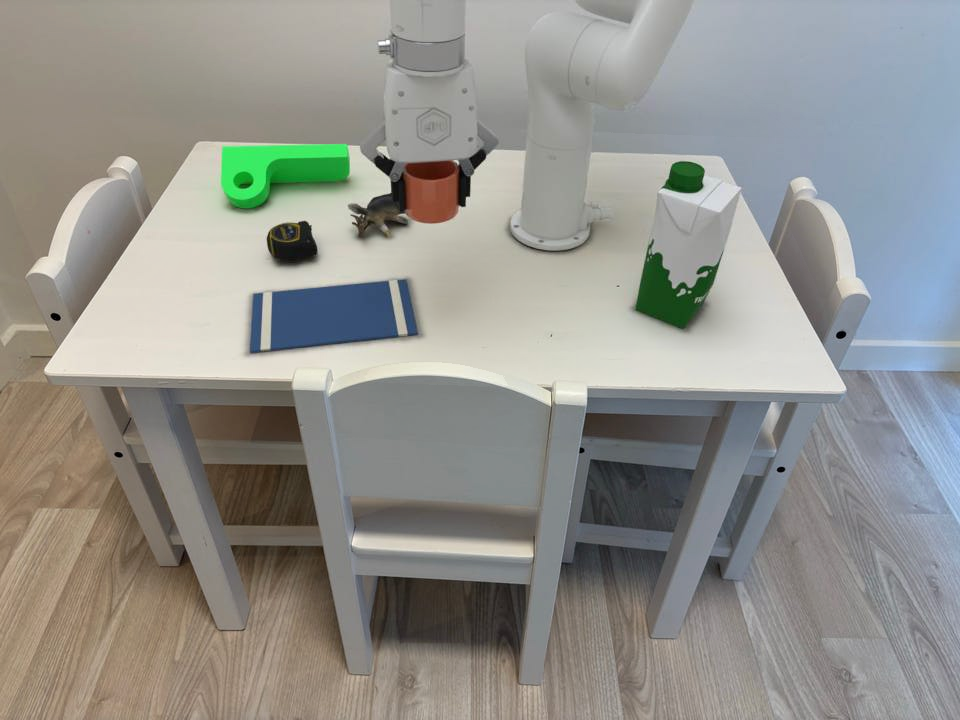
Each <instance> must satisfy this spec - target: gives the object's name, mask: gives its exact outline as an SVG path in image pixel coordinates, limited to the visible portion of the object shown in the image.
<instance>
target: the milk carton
mask: <svg viewBox="0 0 960 720" xmlns="http://www.w3.org/2000/svg"><path fill="white" fill-rule="evenodd" d="M705 173H706V170H705V168H704V167H703V166H702V165H701V164H698V163H697V162H693V161H687V160H682V161H681V160H680V161H675V162H673V163H672V164H671V166H670V170H669V173H668V178H667V179H666V180H665V182H664V184H663V185H662V187H661V188H660V189H659V190H658V192H657V195H656V205H655V213H654V217H653V222H652V227H651V230H650V235H649V241H648V244H647V249H646V253H645V257H644V262H643V267H642V271H641V277H640V283H639V287H638V293H637V298H636V304H635V310H636V311H638V312H641V313H643V314H645V315H648V316H650V317H653V318H655V319H657V320H659V321H662V322H665V323H667V324H670V325H673V326H675V327H677V328H680V329H682V330H684V329H685V328H686V327H687V325H688V324H689V323H690V322H691V320H692V319H693V318H694V317H695V315H696V313H697V312H698V311H699V309H701V307H702V306H703V304H704V303H705V301H706V299H707V297H708V295H709V293H710V292H711V290H712V287H713V285H714V283H715V281H716V277H717V274H718V271H719V268H720V264H721V261H722V258H723V254H724V252H725V248H726V245H727V242H728V238H729V235H730V232H731V229H732V225H733V221H734V217H735V213H736V211H737V207H738V203H739V199H740V195H741V192H742V189H743V188H742V187H741V186H739V185H738V186H737V185H734V184H731V183H728V182H724V181H723V180H722V179H720V178H717V177H711V176H708V175H705Z"/></svg>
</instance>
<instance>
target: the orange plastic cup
mask: <svg viewBox="0 0 960 720" xmlns="http://www.w3.org/2000/svg"><path fill="white" fill-rule="evenodd" d="M458 164H459V163H458V162H456V161H455V160H452V161H438V162H422V163H406V165H405V168H404V170H403V172H402V176H403V179H404V182H405V203H406V211H404V212H405V214H404V215H406V217H407V218H409V219H411V220H412V221H414V222H417V223H421V224H442V223H445V222H449V221H451V220H452V219H454V218H455V217H456V216H457V215H458V213H459V208H460V206H459V172H460V169H459V167H458Z"/></svg>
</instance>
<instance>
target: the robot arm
mask: <svg viewBox="0 0 960 720" xmlns="http://www.w3.org/2000/svg"><path fill="white" fill-rule="evenodd" d="M574 2H575V3H576V4H577V6H579V7H580V8H581V9H582V10H584V11H586V12H588V13H590V14H593V15H595V16H598V17H601V18H606V19H608V20H609V19H610V20H613V21H617V22H620V23H624V24H628V26H627V27H626V26H623V25H619V24H615V23H611V22H607V21H604V20H602V19H598V18H595V17H591V16H587V15H584V14H580V13H576V12H570V11H554V12H549V13H547V14H545V15H543V16H542V17H540V18H538V20H536V22H535V23H534V24H533V25H532V26H531V29H530V31H529V33H528V34H527V35H528V36H527V38H526V42H525V49H524V63H525V65H524V66H525V73H526V83H527V91H528V94H527V95H528V110H527V111H528V112H527V127H526V130H527V131H526V140H525V152H524V166H523V180H522V191H521V192H522V193H521V205H520V209H518V210H517V211H515V212H514V213H513V214H512V215H511V218H510V222H509V230H510V233H511V234H512V236H513V237H514V238H515V239H516V240H518V241H519V242H520V243H522V244H523V245H526V246H528V247H530V248H534V249H537V250H542V251H553V252H554V251H555V252H557V251H558V252H559V251H566V250H570V249H575V248H577V247H579V246H581V245H582V244H584V243H585V242H586V241H587V240H588V239H589V236H590V234H591V224H593V222H594V221H608V220H612V218H613V208H612V207H611V206H605V207H600V203H599V201H590V202H585V197H586V191H587V185H588V184H587V183H588V177H589V171H590V165H591V164H590V163H591V156H592V149H593V143H594V136H595V129H596V127H595V126H596V123H595V121H596V120H595V112H594V108H593V104H595V105H598V106H601V107H605V108H608V109H611V110H616V111H628V110H630V109H632V108H634V107H636V106H637V105H638V104H639V103H640V102H641V101H642V100H643V99H644V97H645V96H646V94H647V93H648V92H649V90H650V88H651V86H652V84H653V82H654V81H655V79H656V77H657V75H658V73H659V71H660V70H661V68H662V65H663V64H664V61H665V60H666V59H667V56H668V54H669V52H670V50H671V49H672V47H673V45H674V43H675V42H676V41H675V40H676V39H677V37H678V35H679V33H680V31H681V29H682V28H683V27H684V24H685V22H686V20H687V18H688V15H689V14H690V11H691V9H692V6H693V4H694V0H574ZM389 9H390V28H391V29H390V34H389V35H388V37H386V38H384V39H378V40H377V50H378V55H385V56H389V57H390V60H388V61H387V64H386V69H385V76H384V88H383V120H382V121H381V122H380V123H379V124H378V125H377V126H376V127H375V128H374V129H373V130H371V132H370V133H369V134H368V135H367V136H366V137H365V138H364V139H363V140H362V141H360V144H359V150H360V152H361V154H362V155H363V156H364V157H365V158H367V160H369V161H370V162H371V163H373V164H374V166H375V167H376V168H377V169H378V170H379V171H380V172H381V173H383V174H384V175H385V176H387V177H388V178H389V180H390V193H391V196H392V202H393V203H395V202H397V203H398V207H399V211H400V212H404V211H406V203H405V182H404V179H403V176H402V172H403V170H404V168H405V165H406V163H422V162H438V161H452V160H453V161H458V162H457V164H458V167H459V169H460V172H459V207H461V208H466V207H467V198H470V197H471V185H472V184H471V183H472V176H473V175H475V170H476V169H478V168H479V166H481V165H482V164H483V162H485V161H486V159H487V157H488V155H490V154H491V152H493V150H494V149H496V147H497V146H498V145H499V144H500V143H499V142H500V140H499V138H498V137H497V135H496V134H495V133H494V132H493V131H492V130H491V129H489V127H487V126H486V125H485V124H484V123H482V121H480V120H479V119H478V109H477V107H478V106H477V92H476V91H477V90H476V83H475V74H474V68H473V65H472V63H470V61H469V60H467V58H465V54H466V53H465V50H466V0H389ZM478 138H479V139H480V140H481V141H480V143H479V144H478ZM384 141H385V145H386V152H387V154H388V157H389V158H388V157H387V156H386V155H385V154H383V153H382V152H380V151H379V149H378V147H379V146H380V145H382V144H383V142H384Z"/></svg>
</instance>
